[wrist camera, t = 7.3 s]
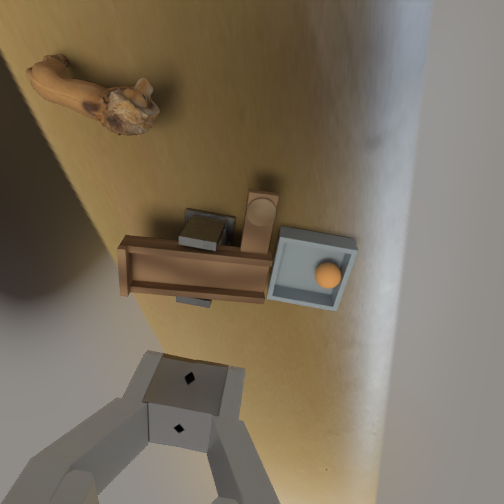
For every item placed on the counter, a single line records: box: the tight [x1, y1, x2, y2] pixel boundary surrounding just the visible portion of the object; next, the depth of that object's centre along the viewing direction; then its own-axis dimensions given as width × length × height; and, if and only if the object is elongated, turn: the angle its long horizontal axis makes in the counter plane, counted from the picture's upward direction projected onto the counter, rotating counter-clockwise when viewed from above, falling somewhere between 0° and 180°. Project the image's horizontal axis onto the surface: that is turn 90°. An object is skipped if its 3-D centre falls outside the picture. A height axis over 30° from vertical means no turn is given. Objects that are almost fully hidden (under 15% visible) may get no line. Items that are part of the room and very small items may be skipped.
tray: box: [267, 226, 358, 311], centre depth 41 cm, size 9×9×3 cm
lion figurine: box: [26, 55, 160, 136], centre depth 31 cm, size 15×5×9 cm, turn 80°
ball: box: [315, 262, 341, 289], centre depth 40 cm, size 3×3×3 cm
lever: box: [117, 189, 279, 304], centre depth 35 cm, size 13×16×3 cm
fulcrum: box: [176, 208, 235, 308], centre depth 39 cm, size 9×6×7 cm, turn 171°
